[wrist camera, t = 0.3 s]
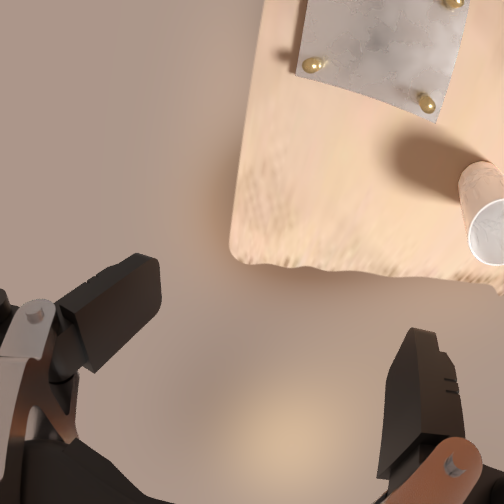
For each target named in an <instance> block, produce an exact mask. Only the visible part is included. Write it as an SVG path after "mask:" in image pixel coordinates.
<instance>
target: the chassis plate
mask: <svg viewBox="0 0 504 504" xmlns="http://www.w3.org/2000/svg"><path fill="white" fill-rule="evenodd" d="M469 3H470V0H308V4H307V10H306V16H305V22H304V28H303V34H302V40H301V45H300V51H299V57H298V63H297V68H296V74H295V76H298V77H303V78H307V79H311V80H314V81H318V82H322V83H326V84H329V85H333V86H336V87H340V88H343V89H346V90H349V91H353V92H356V93H359V94H362V95H365V96H368V97H371V98H374V99H376V100H379V101H382V102H385V103H387V104H390V105H393V106H395V107H398V108H400V109H403V110H405V111H408V112H410V113H413V114H415V115H417V116H420V117H422V118H424V119H426V120H429V121H431V122H433V123H435V124H436V121H437V118H438V115H439V112H440V110H441V107H442V104H443V101H444V98H445V95H446V92H447V89H448V85H449V82H450V79H451V76H452V72H453V69H454V66H455V62H456V58H457V55H458V51H459V47H460V43H461V39H462V35H463V31H464V27H465V22H466V18H467V13H468V8H469Z"/></svg>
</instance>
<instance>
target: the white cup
mask: <svg viewBox="0 0 504 504" xmlns="http://www.w3.org/2000/svg"><path fill="white" fill-rule="evenodd" d="M458 191H459V197H460V204H461V209H462V214H463V219H464V224H465V229H466V234H467V240H468V245H469V248H470V251H471V252H472V254H473V255H474V256H475V258H477V259H478V260H479V261H481V262H482V263H485V264H488V265H493V266H499V265H504V174H503V173H502V172H501V170H499V169H498V168H497V167H496V166H495V165H493V164H492V163H489V162H484V161H479V162H476V163H473V164H470V165H469V166H468V167H467V168H466V169H465V170H464V171H463V172H462V174H461V176H460V179H459V181H458Z"/></svg>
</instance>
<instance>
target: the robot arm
mask: <svg viewBox="0 0 504 504" xmlns="http://www.w3.org/2000/svg"><path fill="white" fill-rule="evenodd" d="M161 301H162V295H161V282H160V267H159V262H158V260H157V259H155V258H152V257H149V256H146V255H143V254H139V253H135V254H133V255H131V256H130V257H128V258H127V259H125V260H123V261H122V262H120V263H119V264H116V265H113V266H110V267H107V268H106V269H104V270H102V271H101V272H99V273H98V274H97V275H96V276H94V277H92V278H90V279H89V280H87V283H86V282H84V283H83V284H81V285H80V286H78V287H77V288H75V289H74V290H73V291H71V292H70V293H68V294H67V295H65V296H64V297H62V298H61V299H59V300H58V301H56V302H55V303H52V302H51V301H49V300H46V299H36V300H32V301H29V302H27V303H25V304H23V305H22V306H21V307H18V306H14V305H10V303H9V301H8V298H7V295H6V292H5V291H4V290H3V289H0V504H174V503H169V502H166V501H162V500H158V499H154V498H151V497H148V496H146V495H144V494H143V493H142V492H141V491H139V490H138V489H137V488H136V487H135V486H134V485H133V484H132V483H131V482H130V481H129V480H128V479H127V478H126V477H125V476H124V475H123V474H122V473H121V472H120V471H119V470H118V469H117V468H116V467H115V466H114V465H113V464H112V463H111V462H110V461H109V460H108V459H106V458H104V457H103V456H101V455H100V454H99V453H97V452H96V451H94V450H93V449H91V448H90V447H88V446H87V445H86V444H85V443H83V442H82V441H80V440H79V437H78V434H77V430H76V425H75V418H76V405H77V395H78V386H79V372H78V369H79V368H80V367H82V366H83V367H85V368H86V369H88V370H90V371H91V372H93V373H96V372H97V371H98V370H99V369H100V368H101V367H102V366H103V365H104V364H105V363H106V362H107V361H108V360H109V359H110V358H111V357H112V356H113V355H114V354H115V353H116V352H117V351H118V350H120V349H121V348H122V347H123V346H124V345H125V344H126V343H127V342H128V341H129V340H130V339H131V338H132V337H133V336H134V335H135V334H136V333H137V332H138V331H139V330H140V329H141V328H142V327H144V326H145V325H146V324H147V323H148V322H149V321H150V320H151V319H152V318H153V317H154V316H155V315H156V314H157V312H158V311H159V309H160V306H161ZM456 382H457V377H456V372H455V367H454V365H453V363H452V362H451V360H450V358H449V357H448V355H447V354H446V353H445V352H440V351H439V347H438V342H437V337H436V334H435V333H434V332H430V331H426V330H421V329H417V328H410V330H409V331H408V332H407V334H406V337H405V339H404V341H403V343H402V345H401V347H400V349H399V351H398V353H397V355H396V357H395V359H394V361H393V363H392V365H391V367H390V369H389V373H388V376H387V380H386V388H385V389H386V390H385V406H384V419H383V430H382V440H381V449H380V457H379V465H378V471H377V477H376V478H378V479H386V480H389V486H388V490H387V491H386V492H384V493H383V494H382V495H381V496H380V497H379V498H378V499H377V500H375V501H374V502H373V503H372V504H504V472H502V471H500V470H497V469H494V468H491V467H488V466H486V465H484V464H483V462H482V457H481V454H480V452H479V450H478V449H477V448H476V446H475V445H474V444H473V443H472V442H470V441H469V440H467V439H465V430H464V421H463V413H462V407H461V399H460V395H458V393H459V387H458V383H456Z"/></svg>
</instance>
